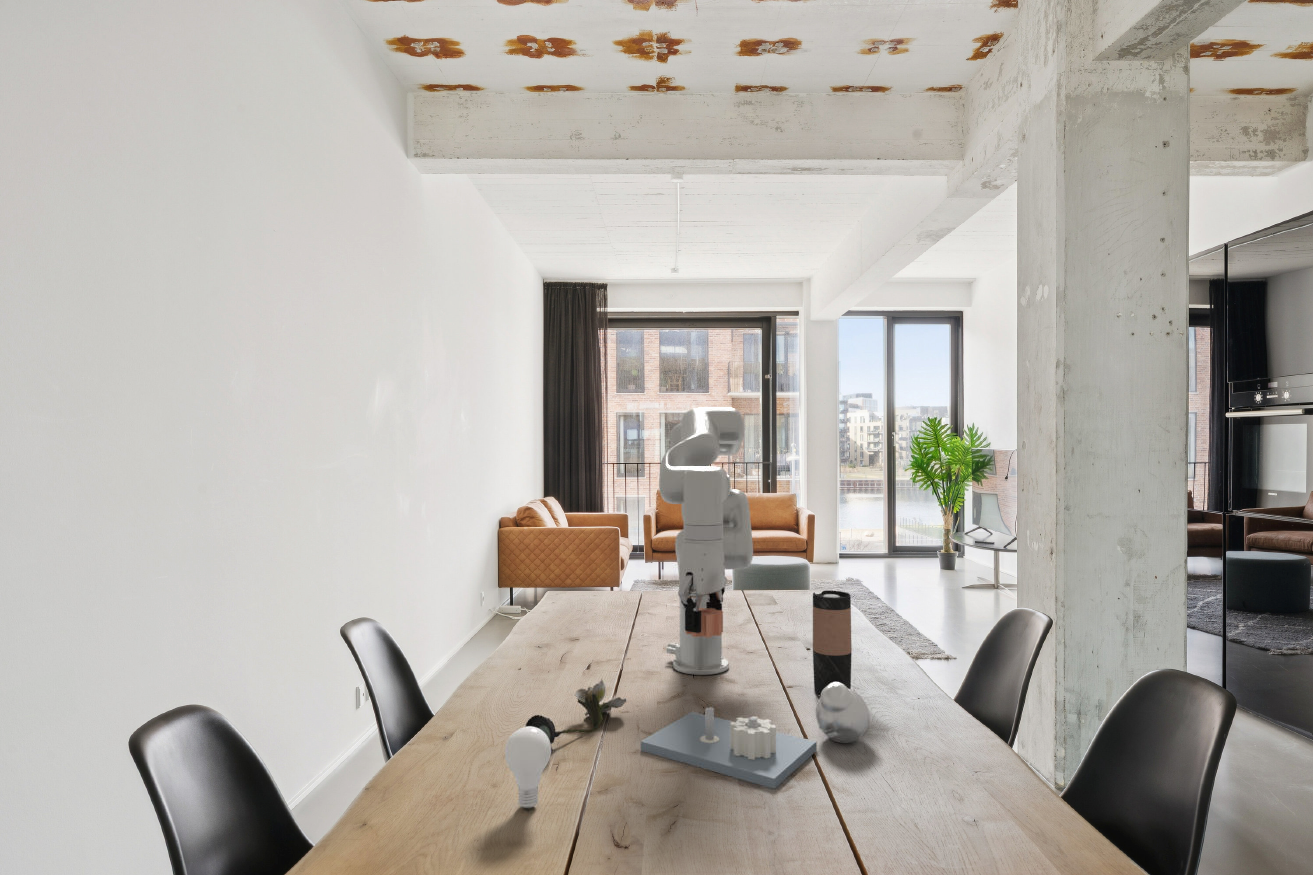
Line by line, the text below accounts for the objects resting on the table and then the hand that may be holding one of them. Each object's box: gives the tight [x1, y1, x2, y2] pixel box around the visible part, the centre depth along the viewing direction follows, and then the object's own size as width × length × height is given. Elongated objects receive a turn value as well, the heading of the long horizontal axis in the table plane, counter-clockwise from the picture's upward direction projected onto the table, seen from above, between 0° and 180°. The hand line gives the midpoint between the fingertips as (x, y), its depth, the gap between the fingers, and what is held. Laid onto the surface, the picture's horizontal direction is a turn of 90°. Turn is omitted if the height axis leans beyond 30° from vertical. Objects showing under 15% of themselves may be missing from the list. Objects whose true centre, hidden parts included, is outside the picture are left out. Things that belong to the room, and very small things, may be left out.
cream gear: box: [730, 716, 777, 760], centre depth 115 cm, size 7×7×4 cm
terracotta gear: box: [685, 607, 724, 638], centre depth 137 cm, size 7×7×4 cm
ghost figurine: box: [815, 682, 870, 744], centre depth 123 cm, size 9×10×10 cm
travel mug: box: [812, 589, 853, 697], centre depth 147 cm, size 8×8×20 cm
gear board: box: [640, 707, 818, 790], centre depth 119 cm, size 24×16×6 cm, turn 55°
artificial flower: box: [524, 678, 627, 754], centre depth 127 cm, size 9×22×10 cm, turn 145°
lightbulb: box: [504, 726, 552, 810], centre depth 101 cm, size 6×6×11 cm
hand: (703, 626), depth 137 cm, fingers closed on terracotta gear, 7 cm apart
